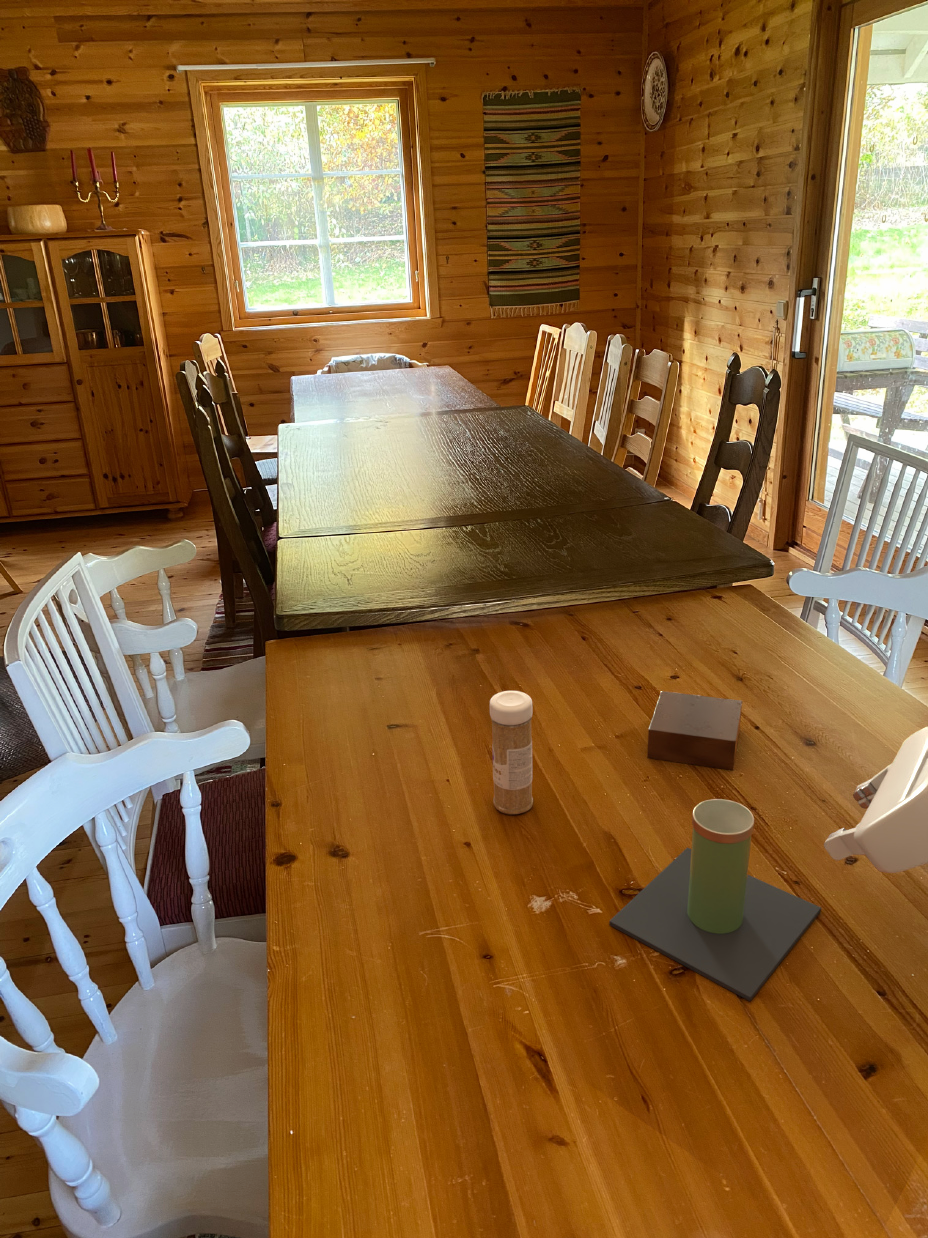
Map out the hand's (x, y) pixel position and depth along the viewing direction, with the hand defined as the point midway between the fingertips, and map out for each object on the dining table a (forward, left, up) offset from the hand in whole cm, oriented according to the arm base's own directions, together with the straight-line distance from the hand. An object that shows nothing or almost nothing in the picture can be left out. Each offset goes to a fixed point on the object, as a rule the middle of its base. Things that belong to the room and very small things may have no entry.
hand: (845, 822), depth 78 cm
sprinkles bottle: (+34, +3, -12) cm, 37 cm away
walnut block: (+25, -21, -12) cm, 35 cm away
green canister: (+8, +6, -11) cm, 15 cm away
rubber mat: (+8, +5, -12) cm, 15 cm away
